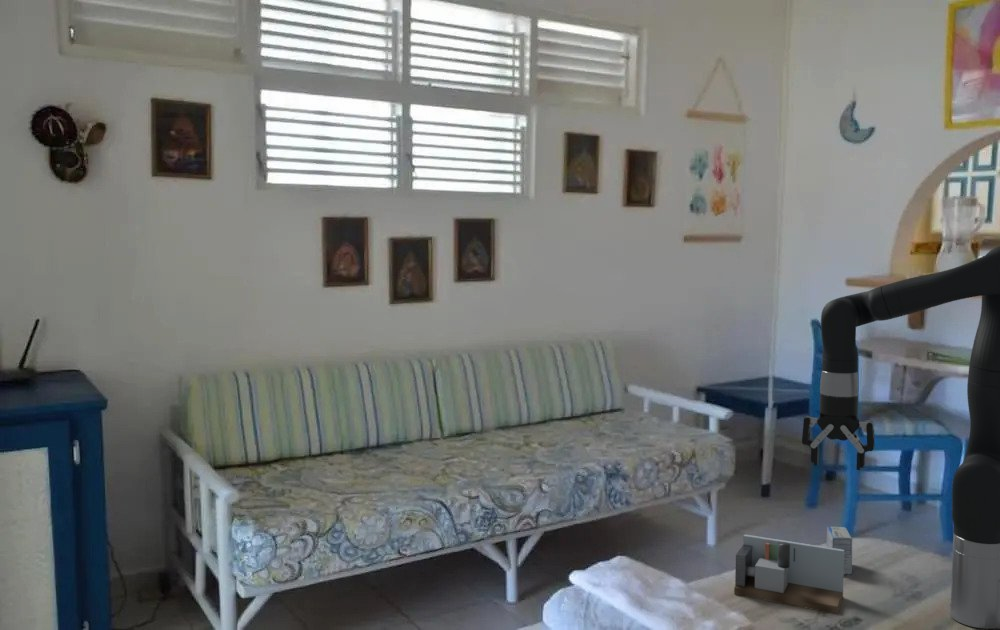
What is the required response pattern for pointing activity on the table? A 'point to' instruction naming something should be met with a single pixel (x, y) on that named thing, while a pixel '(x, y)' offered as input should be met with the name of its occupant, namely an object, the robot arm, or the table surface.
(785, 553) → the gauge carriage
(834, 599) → the base
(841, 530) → the medicine box
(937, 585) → the table surface
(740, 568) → the textured charcoal block
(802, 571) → the board
